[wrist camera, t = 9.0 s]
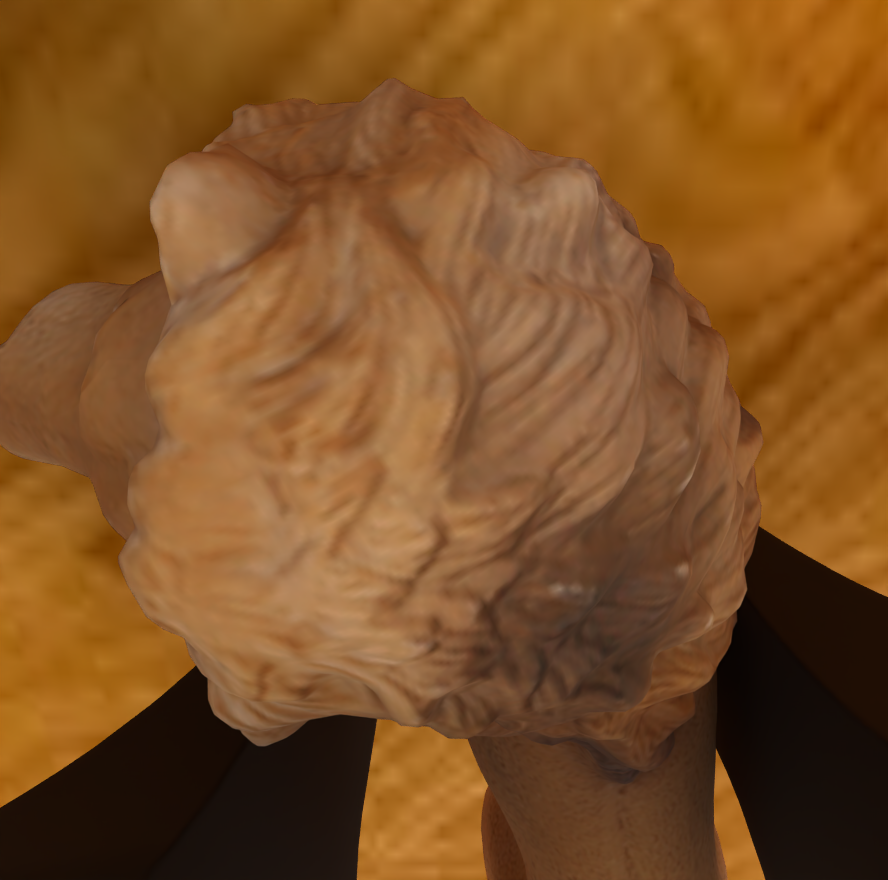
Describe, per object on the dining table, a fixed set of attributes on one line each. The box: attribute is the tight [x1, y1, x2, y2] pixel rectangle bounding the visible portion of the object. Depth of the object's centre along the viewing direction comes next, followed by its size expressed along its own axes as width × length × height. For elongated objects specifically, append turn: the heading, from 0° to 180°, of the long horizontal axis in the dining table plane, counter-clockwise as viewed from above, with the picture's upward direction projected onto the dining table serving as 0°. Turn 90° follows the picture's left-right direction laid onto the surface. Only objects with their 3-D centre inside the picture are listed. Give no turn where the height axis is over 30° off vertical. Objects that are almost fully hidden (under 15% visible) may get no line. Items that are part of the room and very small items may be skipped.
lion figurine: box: [0, 78, 763, 880], centre depth 9 cm, size 15×5×9 cm, turn 22°
